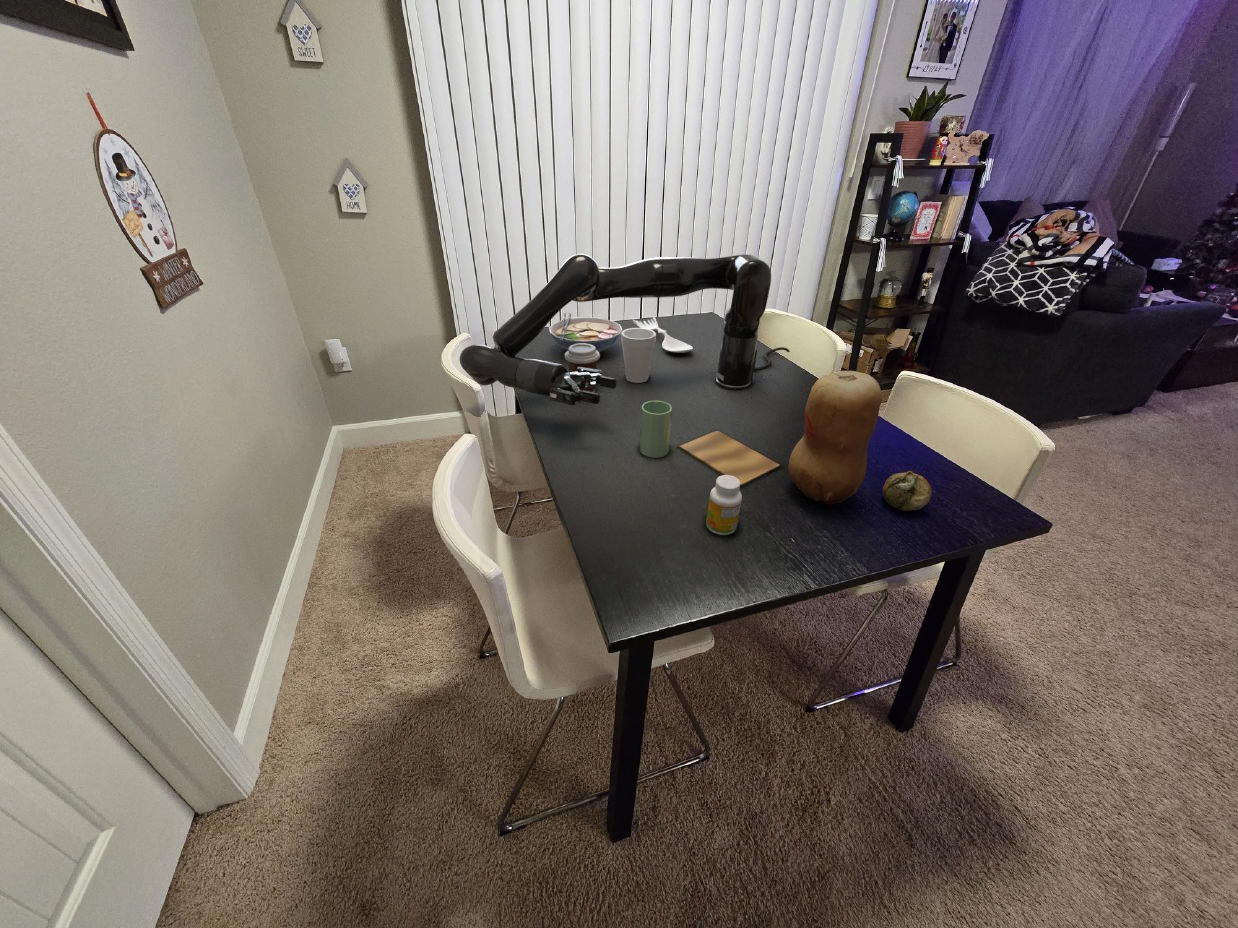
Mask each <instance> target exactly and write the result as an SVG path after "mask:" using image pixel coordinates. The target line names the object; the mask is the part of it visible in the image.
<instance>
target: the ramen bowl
mask: <svg viewBox="0 0 1238 928" xmlns="http://www.w3.org/2000/svg"><path fill="white" fill-rule="evenodd" d="M566 316H567V313H565V312H564V313H563V317H562V320H559V321H556V322H554V323H552V324H551V325H550V326H549V328H548V330H549V334H550V335H551V337H552V339H553V340H554V341H555V342H556V343H557V344H558V345H559V346H560V347H561V348H563V349H564V350H566V351H568V350H569V349H568V348H569V347H570V346H571V345H573V344H578V343H586V344H591V345H593V346H595V348H596V350H597V351H598V352H599V353H601V352H604V351H605V350H608V349H609V348H611V347H612V346H613V345H614V344H615V343H616V341H617V340H618V338H619V336H621V333H622V331H623V327H622V326H621V324H620V323H618V322H616V321H614V320H611V319H606V318H602V317H590V316H586V317H584V316H583V317H572V312H571V313H570V312H569V313H568V317H567V318H566Z"/></svg>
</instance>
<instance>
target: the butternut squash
mask: <svg viewBox="0 0 1238 928" xmlns="http://www.w3.org/2000/svg"><path fill="white" fill-rule="evenodd" d="M882 402H883V396H882V390H881V386H880V383H879V382H878V380H876V379H875V378H874V377H873V376H871V375H870V374H868V373H864V372H860V371H855V370H838V371H834V372H831V373H827V374H824V375H822V376H821V377H819V378H817V380H816V381H815V382H814V384H813V385H812V386H811V389H810V392H809V395H808V397H807V401H806V404H805V407H804V420H803V421H804V422H803V423H804V427H803V428H804V432H803V433H804V434H803V436H802V438H800V439H799V441H797V443H796V445H795V446H794V447H793V450H792V452H791V453H790V457H789V460H788V464H787V471H788V475H789V477H790V480H791V482H792V483H794V485H795V486H796V487H797V488H798V489H799V490H800V491H801V492H802V493H803V495H804V496H806V497H807V498H809V499H811V500H814V501H816V502H822V503H824V504H826V505H834V504H839V503H843V502H844V501H846V500H847V499H849V498H851V497H853V495H855V494H856V493H857V492H858V491H859V489H860V488H861V485H862V484H863V482H864V480H865V479H866V478H865V477H866V475H867V467H868V465H867V464H868V446H869V443H870V440H871V437H872V436H873V433H874V431H875V430H876V427H877V423H878V420H879V419H878V418H879V413H880V409H881V404H882Z"/></svg>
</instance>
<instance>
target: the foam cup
mask: <svg viewBox="0 0 1238 928" xmlns="http://www.w3.org/2000/svg"><path fill="white" fill-rule="evenodd" d="M620 342H621V347H622V356H623V364H624V372H625V373H624V375H625V379H626V381H628V382H630V383H635V384H638V383H639V384H641V383H645V382H647V381H648V380H649V376H650V372H651V367H652V362H653V356H654V350H655V346H656V343H657V332H656V331H652V330H650V329H645V328H640V327H631V328H630V327H629V328H627V329H626V328H625V329H624V330H622V331H621V333H620Z"/></svg>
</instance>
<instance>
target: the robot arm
mask: <svg viewBox="0 0 1238 928" xmlns="http://www.w3.org/2000/svg"><path fill="white" fill-rule="evenodd" d="M771 284H772V270H771V268H770V266H769V264H767V263H766V262H765V261H764V260H762V259H760V258H759V257H757V256H755V255H753V254H746V253H744V254H743V253H742V254H735V255H730V256H729V255H728V256H723V257H715V258H714V257H713V258H701V257H677V256H676V257H674V256H673V257H652V258H647V259H641V260H639V261H636V262H632V263H628V264H625V265H623V266H617V267H599V265H598V263H597V261H596V260H595V259H594V258H593V257H591V256H589V255H588V254H583V253H578V254H574V255H572V256H570V257H569V258H567V259H566V260H565V261H564V263H563V264H562V265H561V266H560V268H559V269H558V270H557V271H556V273H555V274H554V275H553V276H552V278H551V279H550V280H549V281H548V282H547V283H546V284H545V286H543V288H542V289H541V290H540V291H539V292H538V293H537V294H536V295H535V296H534V297H533V298H531V300H529V302H527V303H526V304H525V305H524V306H523V307H522V308H521V309H519V310H518V311H517V312H516V313H515V314H514V315H513V316H511V317H510V318H509V319H508V320H507V321H506V322H505V323H503V325H501V326H500V327H499V328H498V329H497V330H495V332H493V334H492V341H493V344H494V346H493V347H490V346H488V345H483V344H471V345H468V346H466V347H464V349H462V351H460V355H459V364H460V366H461V368H462V369H463V370H464V372H465V373H467V375H468V376H470V378H471V379H472V380H474V382H475V383H476V384H478V385H480V386H484V387H485V386H486V387H487V386H490V385H493V384H495V383H496V382H499V384H501V385H503V386H505V387H509V388H513V389H517V390H522V391H525V392H527V393H531V394H535V395H539V396H544V397H549V400H550V401H553V402H557V403H561V404H564V405H568V406H576V403H582V402H584V403H588V404H593V405H598V404H599V403H601V402H600V401H601V397H600V393H597V392H594V393H593V392H589V391H584V390H583V391H582V389H588V388H591V386H595V387H598V386H599V387H602V388H603V387H604V388H608V389H612V390H614V389H615V388H617V379H616V378H614V377H610V376H605V375H603V371H602V370H601V369H597V370H596V369H590V368H584V367H577V372H569V370H567V368H566V366H564V365H563V364H561V363H557V362H552V361H546V360H540V359H534V358H526V357H519V356H517V355H518V354H519V353H521V351H523V350H524V349H525V348H526V347H527V346H528V345H529V344H530V343H532V342H533V340H535V339H536V338H537V337H538V336H539V335H540V333H542V331H543V330H544V329H545V328H546V326H547V325H548V324H550V322H551V321H552V319H553V318H554V317H555V316H556V315H557V314H558V313H559V312H560V311H561V310H562V309H563V308H564V307H565V306H567V305H569V304H570V303H571V302H572V301H573V302H576V303H586V302H593V301H601V300H608V299H616V298H617V299H618V298H619V299H620V298H627V299H631V298H632V299H636V298H637V299H641V298H642V299H644V298H645V299H646V298H654V299H657V298H659V299H661V298H676V297H678V298H679V297H683V296H686V295H690V294H693V293H696V292H699V291H703V290H711V289H714V290H715V289H716V290H717V289H719V290H722V289H723V290H730V291H732V297H731V301H730V302H731V303H730V306H729V307H728V308H727V309H726V310H725V312H724V318H723V319H724V320H723V328H722V334H721V342H720V351H719V358H718V365H717V371H716V372H715V376H716V378H715V382H716V384H717V385H718V386H720V387H723V388H726V389H729V390H743V389H747V388H748V387H750V385H751V383H753V378H754V373H755V371H761V370H764V369H766V368H768V367H769V366H771V364H772V361H771V359H770V357H768V355H770V354H772V353H775V352H777V351H785V352H786V353H790V352H791V351H790V349H789V348H787V347H784V346H782V347H776V348H772V349H770V350H768V351H766V352H765V353H764V359H765V360H766V361H767V362H768V363H767V364H765V365H763V366H759V367H756V363H757V356H758V349H757V343H758V339H759V331H760V325H761V320H762V318H763V316H764V314H765V313H766V309H767V304H768V299H769V294H770V290H771ZM592 373H595V374H592ZM585 380H587V383H586V384H585ZM591 381H595V382H591ZM567 397H568V398H567Z"/></svg>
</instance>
